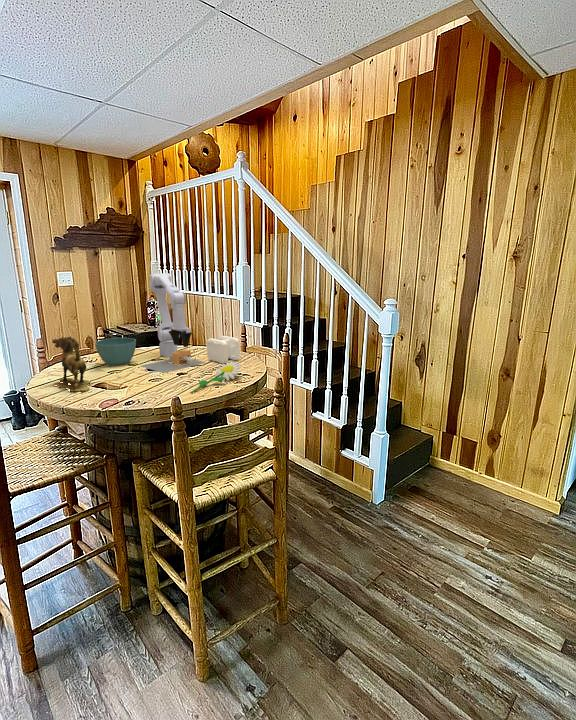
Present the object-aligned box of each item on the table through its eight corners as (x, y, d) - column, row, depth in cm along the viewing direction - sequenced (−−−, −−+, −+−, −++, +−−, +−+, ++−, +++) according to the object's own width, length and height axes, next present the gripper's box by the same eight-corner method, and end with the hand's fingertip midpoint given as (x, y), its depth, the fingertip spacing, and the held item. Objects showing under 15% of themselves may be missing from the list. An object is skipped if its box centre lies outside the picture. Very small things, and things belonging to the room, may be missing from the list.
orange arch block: (173, 364, 199) (171, 353, 197) (187, 360, 205) (185, 349, 203) (178, 366, 196) (176, 354, 195) (191, 362, 202) (190, 350, 200)
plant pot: (133, 359, 213) (130, 336, 210) (142, 366, 198) (139, 342, 195) (95, 364, 203) (92, 340, 200) (102, 372, 189) (98, 346, 186)
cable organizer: (241, 361, 207) (240, 338, 204) (224, 365, 200) (223, 342, 197) (222, 356, 217) (221, 335, 214) (206, 360, 210) (205, 338, 207)
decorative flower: (204, 401, 156) (248, 372, 180) (202, 390, 155) (246, 362, 179) (180, 398, 162) (225, 370, 187) (177, 387, 161) (223, 360, 185)
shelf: (140, 368, 194) (139, 359, 193) (182, 359, 212) (182, 350, 211) (163, 376, 182) (162, 366, 181) (206, 365, 199) (206, 355, 198)
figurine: (81, 376, 183) (75, 332, 178) (100, 389, 165) (93, 340, 160) (49, 382, 174) (41, 336, 170) (65, 396, 156) (57, 345, 151)
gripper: (163, 317, 196) (165, 345, 200) (180, 320, 187) (183, 349, 191) (175, 315, 202) (177, 342, 205) (193, 318, 192) (195, 346, 196)
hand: (181, 345), depth 198 cm, fingers open, 7 cm apart
